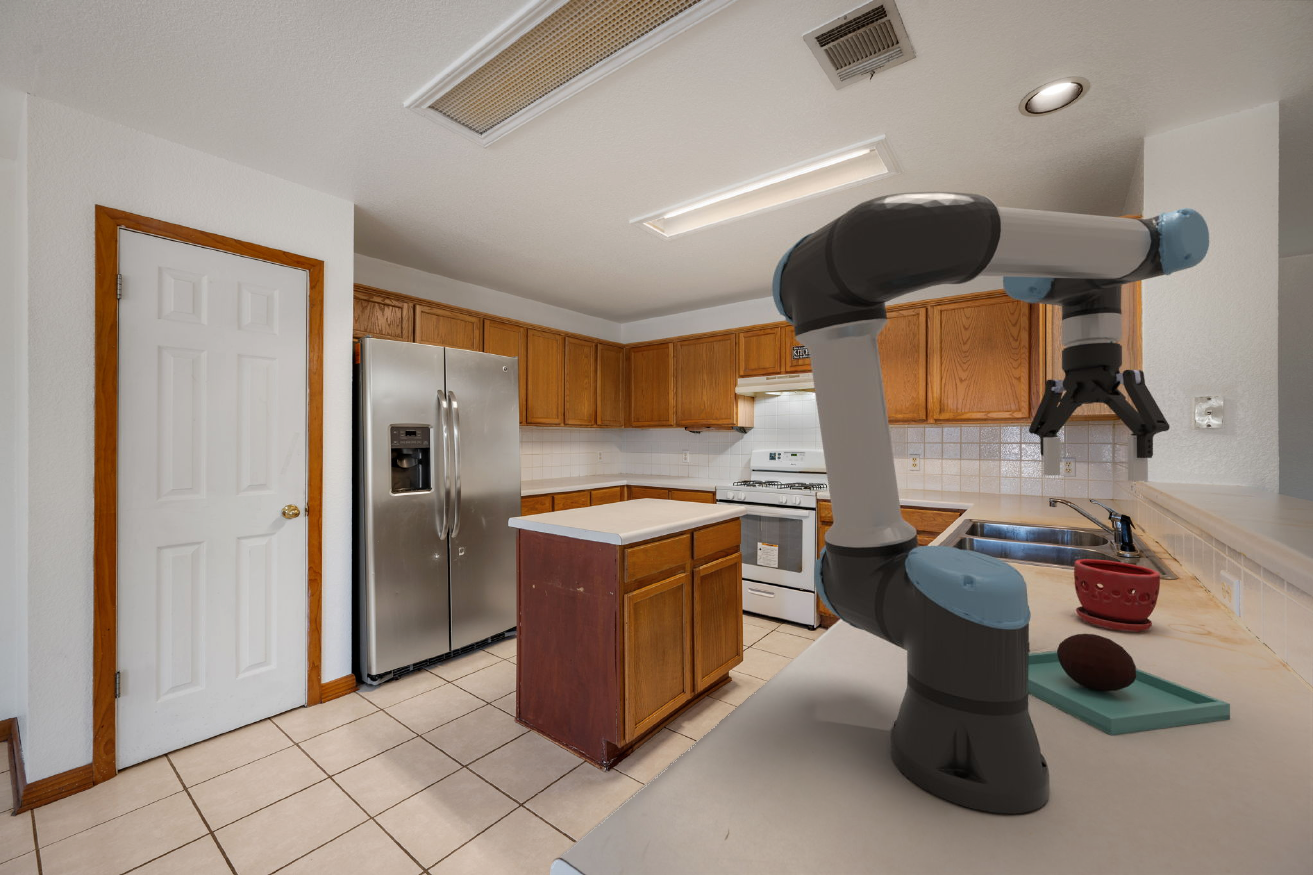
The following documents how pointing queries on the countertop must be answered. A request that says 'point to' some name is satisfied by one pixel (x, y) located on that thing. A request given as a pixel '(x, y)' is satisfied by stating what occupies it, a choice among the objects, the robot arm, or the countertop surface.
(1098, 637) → the dark brown oval
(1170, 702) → the teal tray
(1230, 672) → the countertop surface
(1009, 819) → the countertop surface
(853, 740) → the countertop surface
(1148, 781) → the countertop surface
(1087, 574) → the plant pot
